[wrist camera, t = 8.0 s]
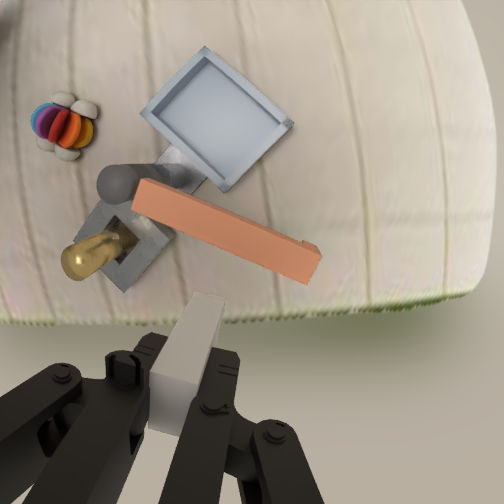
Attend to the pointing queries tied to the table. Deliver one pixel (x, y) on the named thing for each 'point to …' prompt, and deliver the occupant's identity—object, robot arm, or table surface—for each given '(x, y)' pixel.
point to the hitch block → (142, 255)
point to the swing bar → (209, 223)
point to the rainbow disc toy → (64, 125)
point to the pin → (97, 251)
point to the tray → (216, 118)
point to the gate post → (172, 171)
